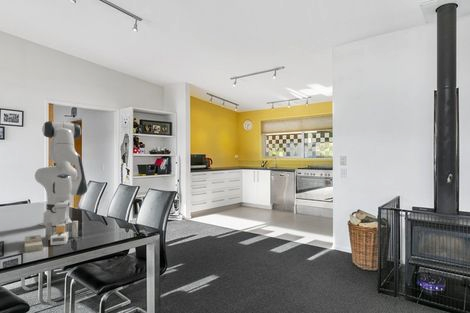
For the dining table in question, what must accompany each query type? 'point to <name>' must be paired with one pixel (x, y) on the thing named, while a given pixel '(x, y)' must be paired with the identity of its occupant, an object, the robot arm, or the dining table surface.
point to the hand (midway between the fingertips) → (63, 226)
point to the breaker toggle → (60, 228)
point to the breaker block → (59, 238)
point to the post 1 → (48, 231)
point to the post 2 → (74, 229)
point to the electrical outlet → (33, 243)
